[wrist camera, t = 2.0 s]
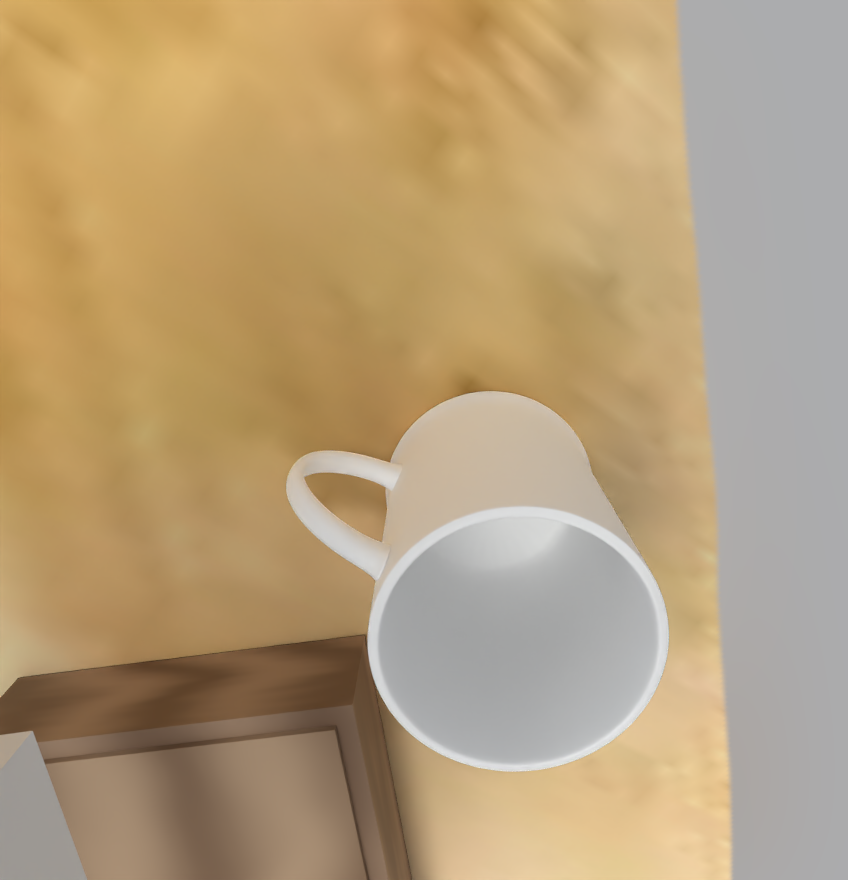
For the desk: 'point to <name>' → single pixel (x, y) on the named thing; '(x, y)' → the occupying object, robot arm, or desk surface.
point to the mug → (498, 586)
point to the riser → (221, 765)
